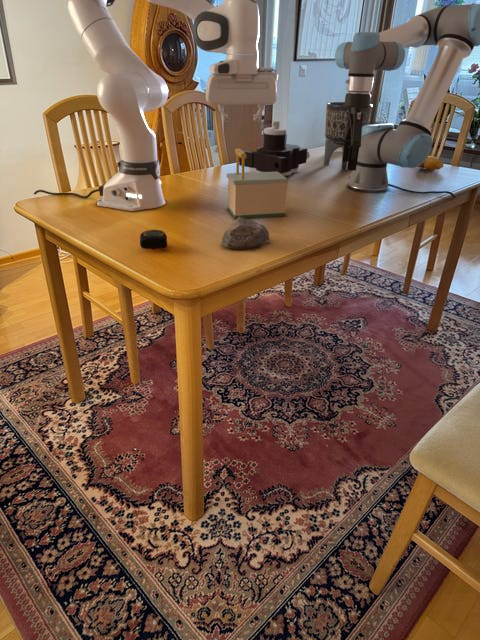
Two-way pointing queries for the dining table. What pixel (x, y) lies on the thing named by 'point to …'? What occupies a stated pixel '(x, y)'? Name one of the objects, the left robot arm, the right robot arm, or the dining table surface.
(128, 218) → the dining table surface
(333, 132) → the planter
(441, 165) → the toy
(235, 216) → the chest
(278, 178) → the lid
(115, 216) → the dining table surface
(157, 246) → the tape measure
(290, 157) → the mechanical component
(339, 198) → the dining table surface
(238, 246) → the rock
